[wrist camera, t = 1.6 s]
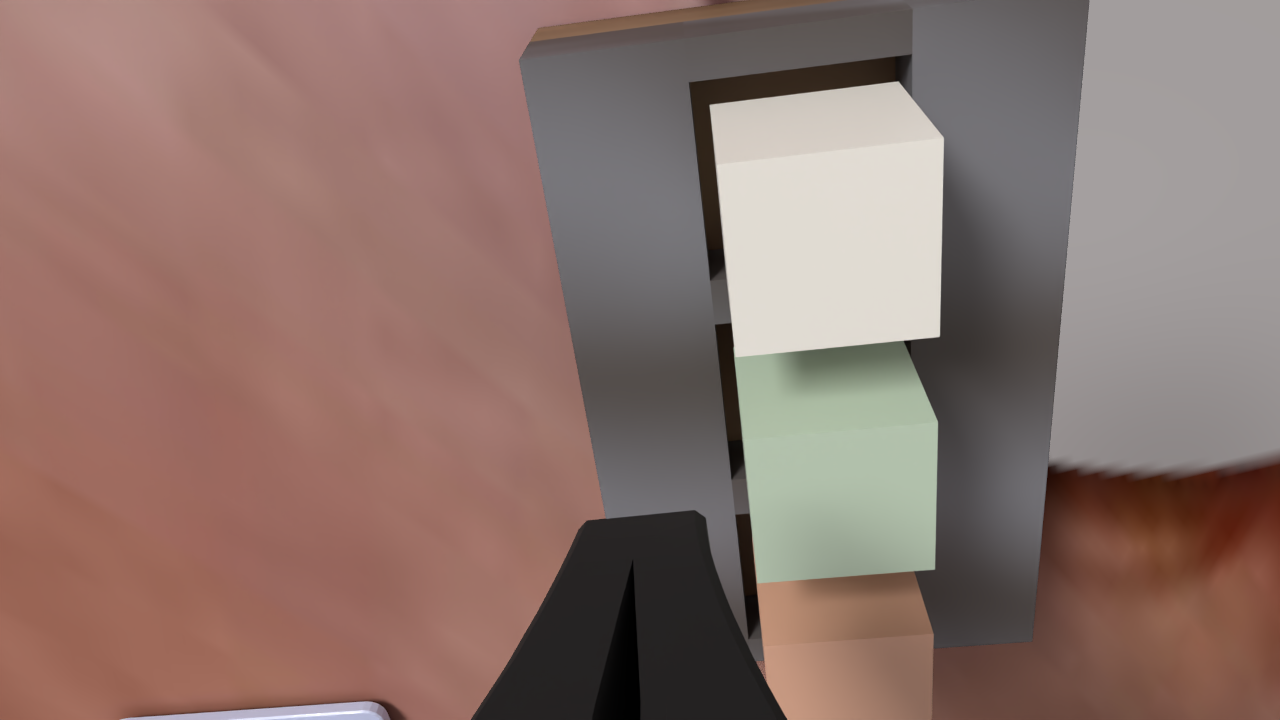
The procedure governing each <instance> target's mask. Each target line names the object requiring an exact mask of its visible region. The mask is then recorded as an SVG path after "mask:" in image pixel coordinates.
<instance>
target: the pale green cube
mask: <svg viewBox="0 0 1280 720" xmlns="http://www.w3.org/2000/svg"><path fill="white" fill-rule="evenodd" d="M733 349H734V347H733ZM734 359H735V369H736V379H737V390H738V400H739V410H740V420H741V430H742V441H743V451H744V461H745V471H746V481H747V491H748V500H749V509H750V519H751V528H752V538H753V547H754V556H755V566H756V575H757V583H770V582H782V581H795V580H808V579H821V578H833V577H846V576H859V575H872V574H884V573H897V572H910V571H923V570H935V545H936V497H937V449H938V421H937V418H936V416H935V414H934V411H933V409H932V407H931V404H930V402H929V400H928V397H927V395H926V393H925V390H924V388H923V386H922V383H921V381H920V379H919V376H918V374H917V371H916V369H915V367H914V364H913V362H912V360H911V357H910V355H909V353H908V350H907V348H906V346H905V343H904V341H894V342H884V343H874V344H864V345H854V346H844V347H834V348H824V349H814V350H804V351H794V352H784V353H774V354H764V355H754V356H744V357H735V349H734Z"/></svg>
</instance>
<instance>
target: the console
mask: <svg viewBox="0 0 1280 720" xmlns="http://www.w3.org/2000/svg"><path fill="white" fill-rule="evenodd" d="M1088 10H1089V0H746V1H739V2H731V3H724V4H716V5H709V6H701V7H694V8H686V9H679V10H671V11H664V12H656V13H649V14H641V15H634V16H626V17H619V18H611V19H604V20H596V21H589V22H581V23H574V24H566V25H559V26H551V27H544V28H538V30H537V31H536V33H535V34H534V36H533V38H532V39H531V41H530V43H529V44H528V46H527V48H526V49H525V51H524V53H523V54H522V56H521V58H520V59H519V63H520V68H521V74H522V79H523V84H524V90H525V95H526V100H527V105H528V111H529V116H530V121H531V126H532V132H533V137H534V142H535V147H536V153H537V158H538V163H539V169H540V174H541V179H542V184H543V190H544V195H545V200H546V205H547V211H548V216H549V221H550V226H551V232H552V237H553V242H554V248H555V253H556V258H557V263H558V269H559V274H560V279H561V284H562V290H563V295H564V300H565V305H566V311H567V316H568V321H569V327H570V332H571V337H572V342H573V348H574V353H575V358H576V363H577V369H578V374H579V379H580V384H581V390H582V395H583V400H584V406H585V411H586V416H587V421H588V427H589V432H590V437H591V442H592V448H593V453H594V458H595V463H596V469H597V474H598V479H599V485H600V490H601V495H602V500H603V506H604V511H605V516H606V519H609V518H619V517H629V516H639V515H649V514H659V513H669V512H680V511H690V510H696V511H697V512H698V513H700V514H701V515H703V516H704V517H706V522H707V529H708V536H709V543H710V549H711V554H712V558H713V561H714V564H715V568H716V571H717V573H718V576H719V579H720V582H721V584H722V587H723V590H724V593H725V595H726V598H727V600H728V603H729V605H730V608H731V610H732V612H733V615H734V617H735V619H736V621H737V623H738V625H739V627H740V630H741V632H742V634H743V636H744V638H745V640H746V643H747V645H748V647H749V649H750V651H751V653H752V655H753V657H754V659H755V661H764V654H763V645H762V635H761V625H760V614H759V604H758V594H757V584H756V573H755V563H754V553H753V543H752V528H751V519H750V509H749V500H748V491H747V481H746V471H745V461H744V451H743V441H742V430H741V420H740V410H739V400H738V390H737V379H736V369H735V359H734V349H733V347H734V340H733V331H732V322H731V313H730V304H729V295H728V286H727V277H726V267H725V257H724V247H723V236H722V226H721V216H720V206H719V195H718V185H717V175H716V165H715V155H714V144H713V134H712V124H711V114H710V105H712V104H720V103H729V102H737V101H745V100H753V99H761V98H769V97H777V96H785V95H793V94H801V93H809V92H817V91H825V90H834V89H842V88H850V87H858V86H866V85H874V84H882V83H890V82H898V81H899V83H900V84H901V85H902V86H903V88H904V89H905V90H906V91H907V93H908V94H909V95H910V96H911V98H912V99H913V100H914V101H915V103H916V104H917V105H918V106H919V107H920V109H921V110H922V111H923V112H924V114H925V115H926V116H927V117H928V119H929V120H930V121H931V122H932V124H933V125H934V126H935V127H936V129H937V130H938V131H939V132H940V133H941V135H942V136H943V137H944V159H943V207H942V256H941V304H940V337H934V338H924V339H914V340H904V343H905V346H906V348H907V350H908V353H909V355H910V357H911V360H912V362H913V364H914V367H915V369H916V371H917V374H918V376H919V379H920V381H921V383H922V386H923V388H924V390H925V393H926V395H927V397H928V400H929V402H930V404H931V407H932V409H933V411H934V414H935V416H936V418H937V421H938V449H937V497H936V545H935V570H923V571H914V573H915V576H916V579H917V582H918V585H919V589H920V592H921V595H922V598H923V601H924V605H925V608H926V611H927V614H928V617H929V621H930V624H931V627H932V630H933V633H934V642H933V649H934V648H948V647H962V646H976V645H990V644H1004V643H1018V642H1032V639H1033V628H1034V616H1035V605H1036V594H1037V583H1038V571H1039V560H1040V549H1041V538H1042V526H1043V515H1044V504H1045V493H1046V482H1047V470H1048V459H1049V447H1050V437H1051V425H1052V414H1053V402H1054V392H1055V380H1056V369H1057V358H1058V346H1059V335H1060V324H1061V313H1062V302H1063V291H1064V279H1065V268H1066V257H1067V246H1068V234H1069V223H1070V212H1071V200H1072V190H1073V177H1074V167H1075V156H1076V144H1077V133H1078V122H1079V111H1080V99H1081V88H1082V76H1083V66H1084V55H1085V44H1086V32H1087V21H1088Z"/></svg>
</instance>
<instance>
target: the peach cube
mask: <svg viewBox="0 0 1280 720" xmlns="http://www.w3.org/2000/svg"><path fill="white" fill-rule="evenodd" d="M752 543H753V538H752ZM753 553H754V547H753ZM754 563H755V556H754ZM755 573H756V566H755ZM756 584H757V594H758V604H759V614H760V625H761V635H762V645H763V654H764V664H765V673H766V682H767V684H768V686H769V688H770V690H771V691H772V693H773V695H774V697H775V699H776V700H777V702H778V704H779V706H780V707H781V709H782V711H783V713H784V715H785V716H786V718H787V720H932V690H933V642H934V633H933V630H932V627H931V624H930V621H929V617H928V614H927V611H926V608H925V605H924V601H923V598H922V595H921V592H920V589H919V585H918V582H917V579H916V576H915V573H914V571H910V572H897V573H884V574H872V575H859V576H846V577H833V578H821V579H808V580H795V581H782V582H770V583H757V575H756Z"/></svg>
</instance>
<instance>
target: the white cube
mask: <svg viewBox="0 0 1280 720" xmlns="http://www.w3.org/2000/svg"><path fill="white" fill-rule="evenodd" d="M710 114H711V124H712V134H713V144H714V155H715V165H716V175H717V185H718V195H719V206H720V216H721V226H722V236H723V247H724V257H725V267H726V277H727V286H728V295H729V304H730V313H731V322H732V331H733V340H734V349H735V357H744V356H754V355H764V354H774V353H784V352H794V351H804V350H814V349H824V348H834V347H844V346H854V345H864V344H874V343H884V342H894V341H904V340H914V339H924V338H934V337H940V304H941V256H942V207H943V159H944V137H943V136H942V135H941V133H940V132H939V131H938V130H937V129H936V127H935V126H934V125H933V124H932V122H931V121H930V120H929V119H928V117H927V116H926V115H925V114H924V112H923V111H922V110H921V109H920V107H919V106H918V105H917V104H916V103H915V101H914V100H913V99H912V98H911V96H910V95H909V94H908V93H907V91H906V90H905V89H904V88H903V86H902V85H901V84H900V83H899V81H898V82H890V83H882V84H874V85H866V86H858V87H850V88H842V89H834V90H825V91H817V92H809V93H801V94H793V95H785V96H777V97H769V98H761V99H753V100H745V101H737V102H729V103H720V104H712V105H710Z"/></svg>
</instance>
